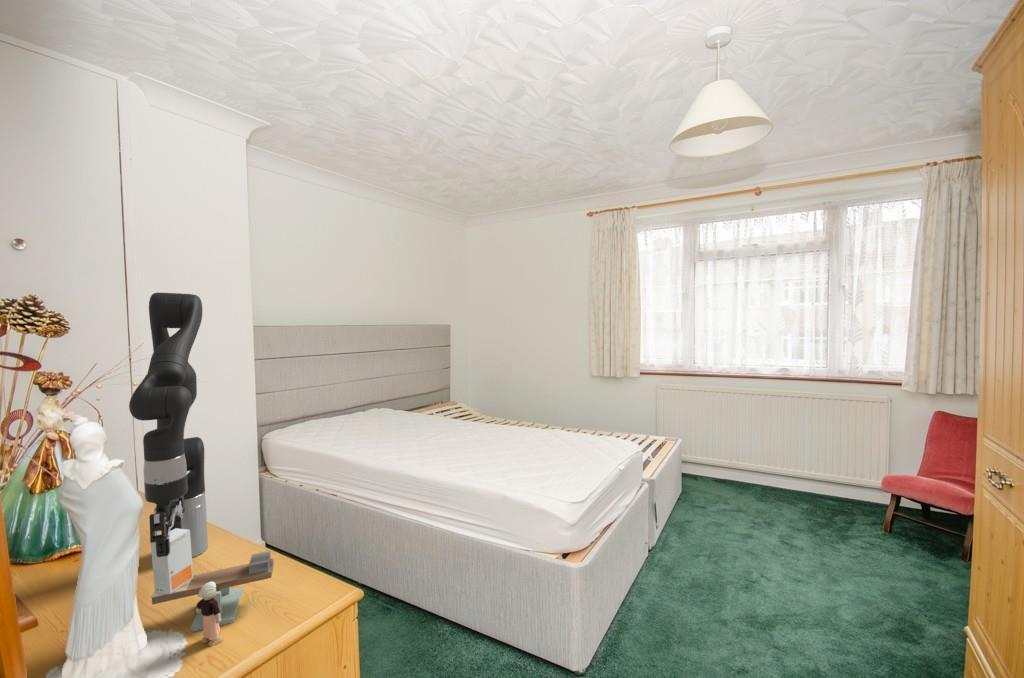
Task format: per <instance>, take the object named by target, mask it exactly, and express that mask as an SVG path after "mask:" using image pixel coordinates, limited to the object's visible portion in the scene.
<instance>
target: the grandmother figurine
mask: <svg viewBox="0 0 1024 678" xmlns="http://www.w3.org/2000/svg"><path fill="white" fill-rule="evenodd" d="M215 595H216V583H214V582H208V583H206V584H205V585H204V586H203V587H202V588H201V589H200V591H199V594H197V597H198V598H200V600H199V601H198V602H197V603H196V604H195V605H196V608H195V613H196V614H197V613H199V612H200V611H201V613H202V615H203V617H204V618H203V638H201V643H203V644H206V643H208V646H209V647H214V646H215V645H218V644H220V643H222V642H223V641H224V639H225V638H224V636H223V635H222V634H220V632H221V627H220V626H221V625H220V626H219V623H220V622H221V618H220V617H221V615H220V609H219V607H218V602H217V601H216V600H215V599H214V597H215Z"/></svg>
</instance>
